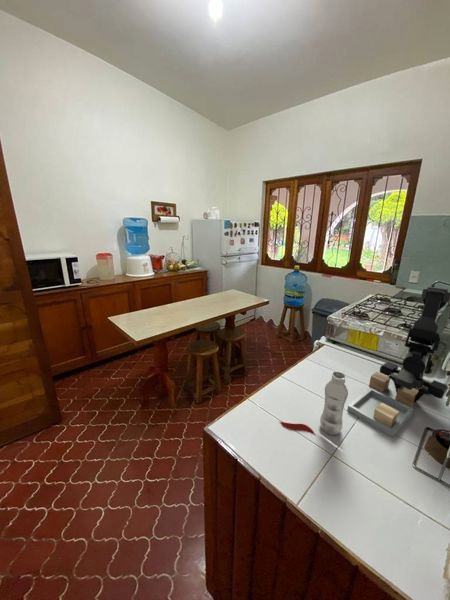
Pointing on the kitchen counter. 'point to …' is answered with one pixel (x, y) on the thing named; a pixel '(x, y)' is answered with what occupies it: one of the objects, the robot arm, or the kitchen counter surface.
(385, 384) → the block
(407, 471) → the kitchen counter surface
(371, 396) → the tray
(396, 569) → the kitchen counter surface
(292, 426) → the cayenne pepper
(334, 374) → the plastic bottle
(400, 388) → the block
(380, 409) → the block
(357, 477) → the kitchen counter surface
